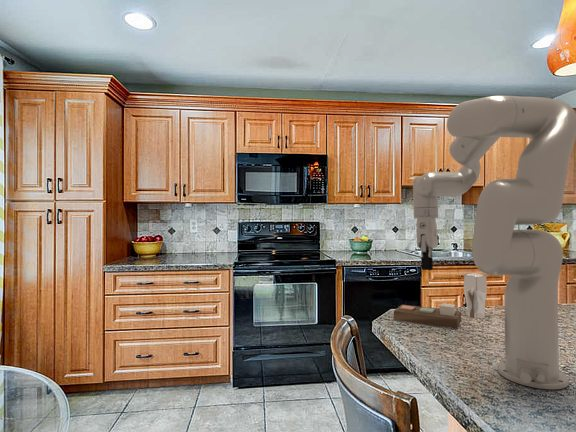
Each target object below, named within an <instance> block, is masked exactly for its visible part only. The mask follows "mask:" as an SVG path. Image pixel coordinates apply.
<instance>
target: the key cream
mask: <svg viewBox="0 0 576 432" xmlns="http://www.w3.org/2000/svg"><path fill="white" fill-rule="evenodd" d="M439 309H440V315H448V316H455V311H456V304H454V303H453V304H451V303H445V302H441V304H440V305H439Z"/></svg>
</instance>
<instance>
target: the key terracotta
mask: <svg viewBox="0 0 576 432" xmlns="http://www.w3.org/2000/svg"><path fill="white" fill-rule="evenodd" d="M402 305H403V306H402V307H401V308H400V310H407V311H414V310H415V307H413V306H414V305H409V306H405V305H406V304H402Z"/></svg>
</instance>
